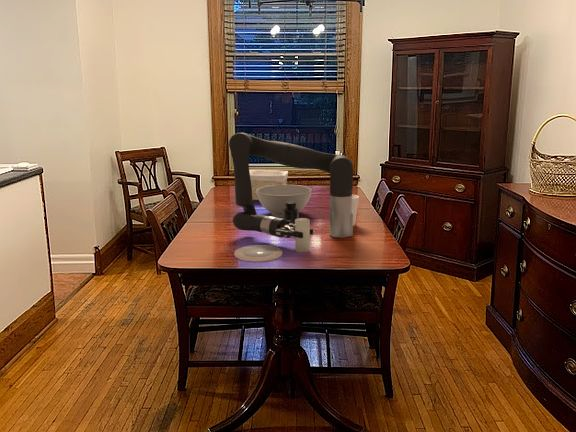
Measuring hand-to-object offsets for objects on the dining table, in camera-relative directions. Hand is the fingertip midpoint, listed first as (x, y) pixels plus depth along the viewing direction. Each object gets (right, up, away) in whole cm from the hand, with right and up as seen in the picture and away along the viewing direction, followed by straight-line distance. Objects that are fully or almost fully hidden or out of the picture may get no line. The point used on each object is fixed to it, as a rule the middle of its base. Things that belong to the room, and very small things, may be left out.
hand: (307, 233), depth 209 cm
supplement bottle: (-6, +1, +33) cm, 34 cm away
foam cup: (+19, +3, +39) cm, 44 cm away
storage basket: (-20, +16, +94) cm, 98 cm away
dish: (-19, -8, -1) cm, 20 cm away
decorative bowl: (-9, +7, +59) cm, 60 cm away
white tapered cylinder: (-2, -6, +3) cm, 7 cm away
